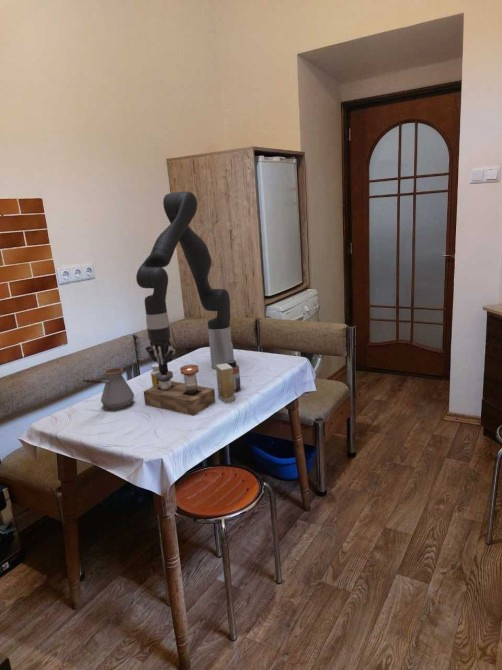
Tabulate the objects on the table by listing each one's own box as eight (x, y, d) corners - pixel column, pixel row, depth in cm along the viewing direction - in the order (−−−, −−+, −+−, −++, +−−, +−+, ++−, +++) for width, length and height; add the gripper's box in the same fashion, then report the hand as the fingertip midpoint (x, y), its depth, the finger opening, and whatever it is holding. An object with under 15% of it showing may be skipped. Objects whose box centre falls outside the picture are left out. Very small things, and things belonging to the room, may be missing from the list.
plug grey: (166, 394, 173) (163, 369, 171) (179, 397, 170) (176, 371, 168) (155, 400, 169) (151, 375, 166) (167, 403, 165) (164, 377, 163)
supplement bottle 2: (221, 390, 175) (218, 361, 172) (232, 385, 180) (230, 357, 177) (232, 394, 171) (230, 364, 168) (244, 388, 176) (241, 359, 173)
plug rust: (190, 389, 166) (188, 363, 164) (204, 392, 163) (201, 365, 160) (179, 395, 161) (176, 369, 159) (193, 398, 158) (190, 371, 156)
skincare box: (218, 397, 169) (214, 364, 166) (229, 394, 171) (226, 362, 168) (224, 403, 164) (221, 369, 161) (235, 400, 165) (233, 367, 162)
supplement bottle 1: (163, 385, 185) (161, 361, 183) (169, 388, 181) (166, 364, 179) (150, 388, 183) (147, 364, 180) (156, 392, 178) (153, 368, 176)
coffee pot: (115, 397, 176) (109, 359, 172) (141, 400, 172) (136, 360, 168) (75, 422, 157) (67, 379, 153) (103, 425, 153) (96, 381, 149)
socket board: (168, 392, 177) (166, 380, 176) (215, 402, 165) (214, 388, 164) (145, 404, 167) (143, 391, 166) (193, 415, 156) (192, 401, 154)
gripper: (180, 324, 162) (185, 372, 166) (151, 321, 169) (157, 367, 173) (164, 329, 156) (170, 379, 160) (136, 326, 163) (142, 374, 167)
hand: (163, 373), depth 167 cm, fingers closed
